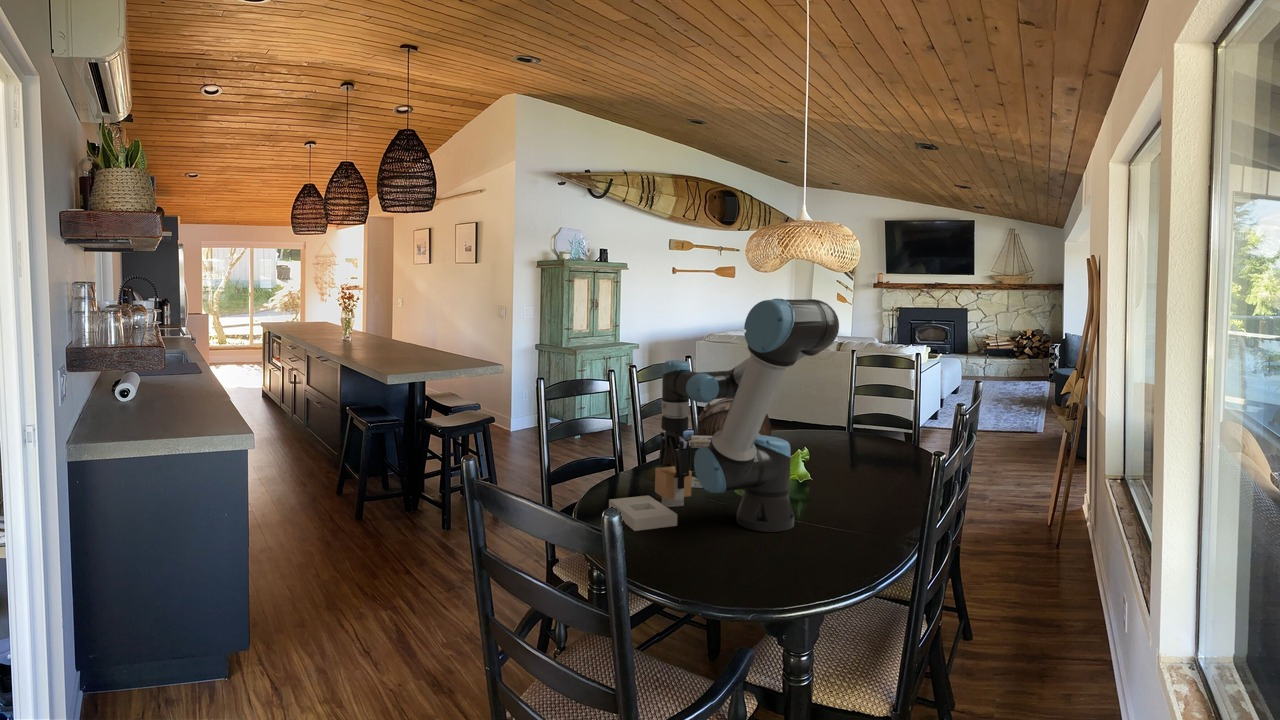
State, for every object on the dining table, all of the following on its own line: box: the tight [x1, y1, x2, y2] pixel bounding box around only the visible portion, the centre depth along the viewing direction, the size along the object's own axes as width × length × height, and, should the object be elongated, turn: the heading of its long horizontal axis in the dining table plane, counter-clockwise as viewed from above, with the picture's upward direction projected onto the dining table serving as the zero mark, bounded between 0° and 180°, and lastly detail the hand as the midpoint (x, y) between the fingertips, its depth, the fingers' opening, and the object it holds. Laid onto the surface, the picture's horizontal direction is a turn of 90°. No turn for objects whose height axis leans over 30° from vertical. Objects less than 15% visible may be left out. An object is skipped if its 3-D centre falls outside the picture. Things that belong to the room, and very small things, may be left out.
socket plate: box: [608, 495, 678, 532], centre depth 205 cm, size 18×12×3 cm, turn 24°
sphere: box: [696, 398, 772, 437], centre depth 261 cm, size 25×25×25 cm
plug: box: [654, 465, 692, 508], centre depth 217 cm, size 7×8×10 cm
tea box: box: [689, 435, 713, 489], centre depth 237 cm, size 15×10×15 cm, turn 84°
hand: (672, 495), depth 217 cm, fingers closed on plug, 7 cm apart
